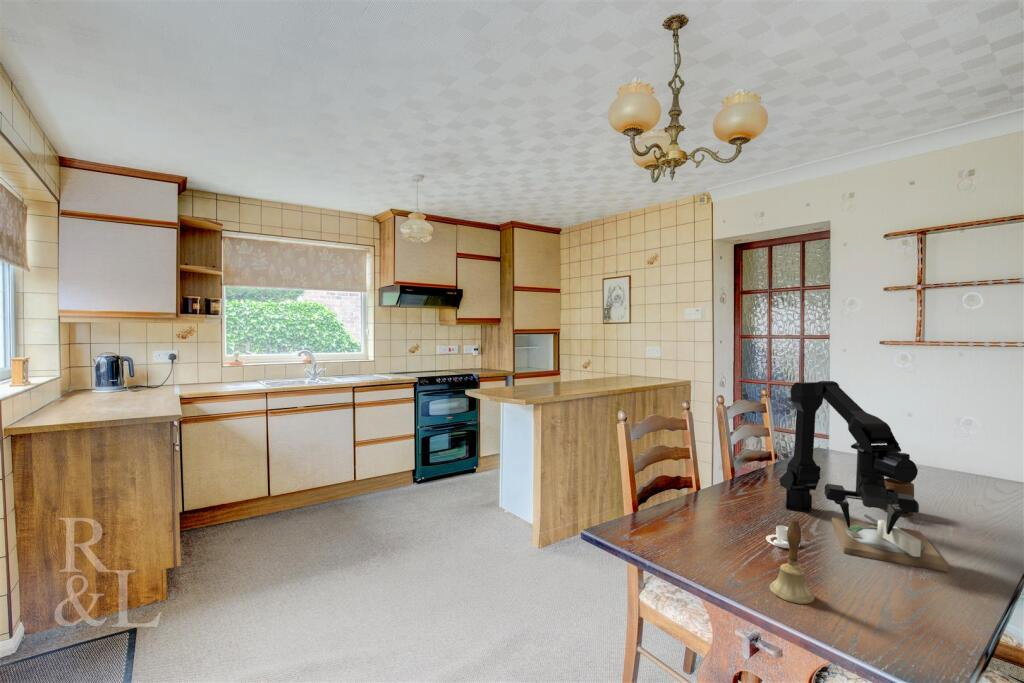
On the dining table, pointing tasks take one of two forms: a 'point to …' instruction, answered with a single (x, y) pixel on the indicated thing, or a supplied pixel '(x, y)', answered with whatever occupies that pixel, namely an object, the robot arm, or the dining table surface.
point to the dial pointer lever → (898, 537)
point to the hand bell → (792, 572)
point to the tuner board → (884, 545)
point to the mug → (900, 489)
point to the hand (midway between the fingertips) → (867, 530)
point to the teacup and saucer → (780, 537)
